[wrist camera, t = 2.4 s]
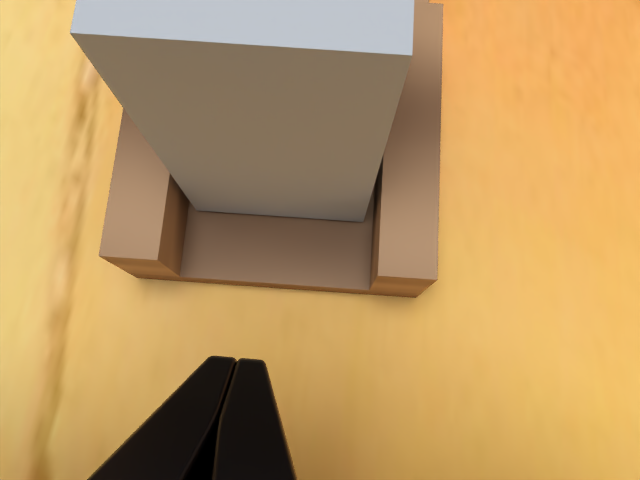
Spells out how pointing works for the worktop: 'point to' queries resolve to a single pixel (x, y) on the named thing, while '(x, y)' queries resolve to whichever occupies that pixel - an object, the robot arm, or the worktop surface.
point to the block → (258, 95)
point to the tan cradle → (291, 232)
